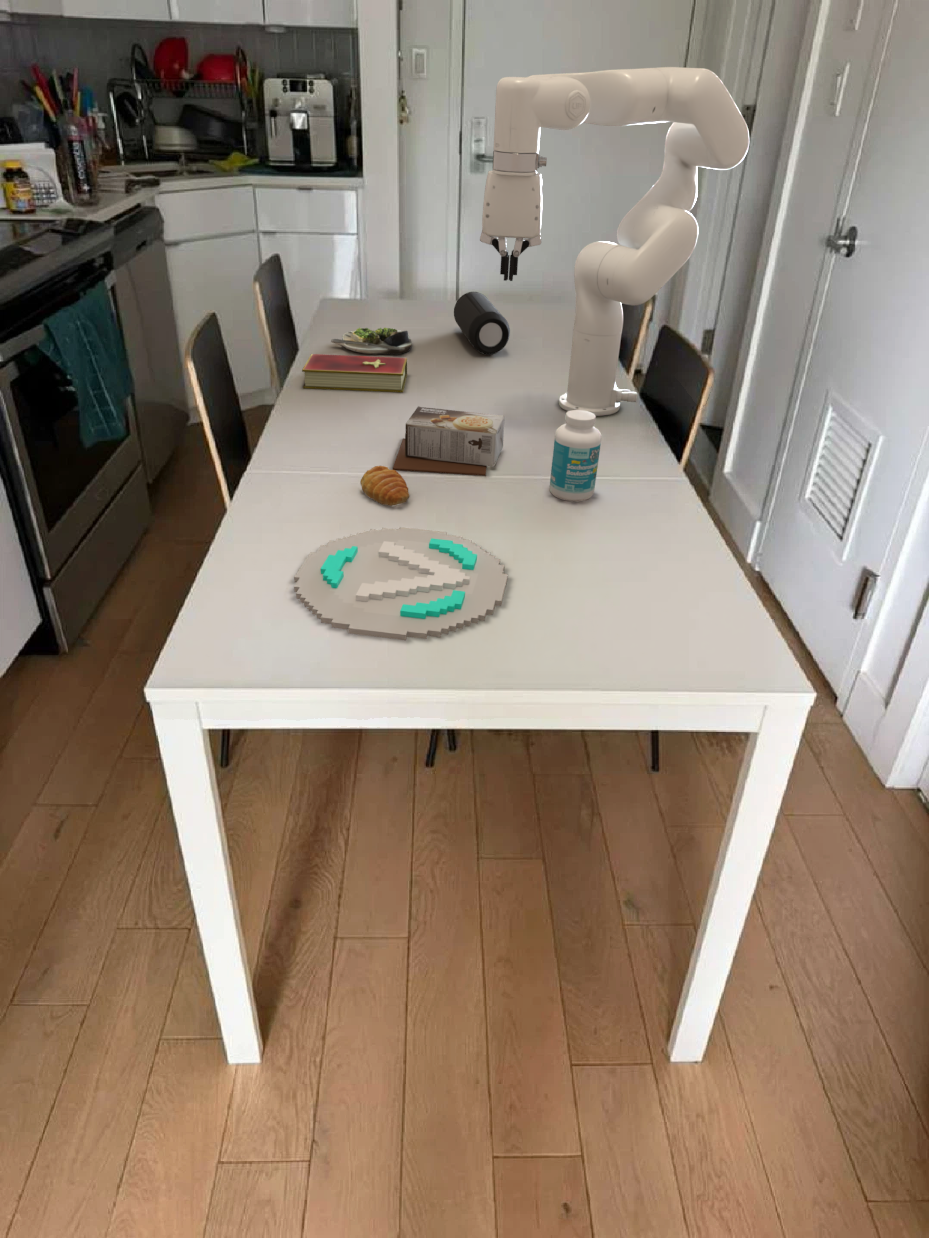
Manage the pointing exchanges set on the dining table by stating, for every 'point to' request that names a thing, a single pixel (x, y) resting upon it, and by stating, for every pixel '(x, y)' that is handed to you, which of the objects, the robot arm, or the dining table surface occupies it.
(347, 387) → the hardcover book
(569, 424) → the pill bottle
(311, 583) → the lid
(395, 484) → the pastry
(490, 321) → the portable speaker
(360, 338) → the salad plate
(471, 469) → the mat
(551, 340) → the dining table surface
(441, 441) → the coffee box
